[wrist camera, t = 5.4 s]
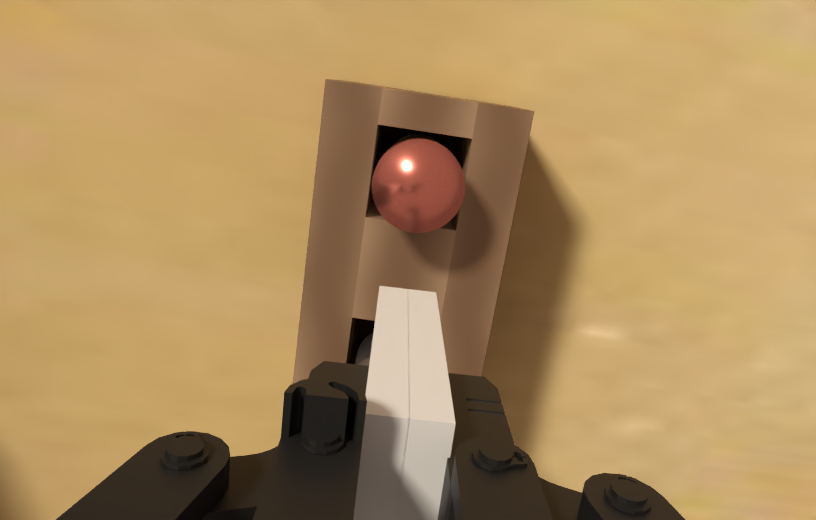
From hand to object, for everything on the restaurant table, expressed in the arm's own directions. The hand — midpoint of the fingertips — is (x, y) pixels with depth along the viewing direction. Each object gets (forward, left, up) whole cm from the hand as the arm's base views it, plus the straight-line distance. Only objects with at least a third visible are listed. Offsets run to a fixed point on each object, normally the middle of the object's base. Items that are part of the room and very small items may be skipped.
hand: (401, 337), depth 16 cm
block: (0, -3, -22) cm, 22 cm away
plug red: (0, +2, -20) cm, 20 cm away
